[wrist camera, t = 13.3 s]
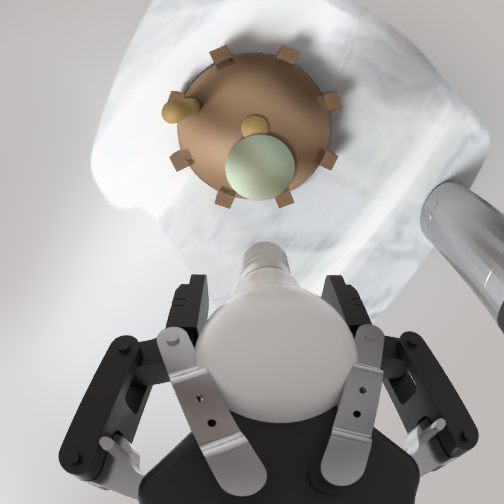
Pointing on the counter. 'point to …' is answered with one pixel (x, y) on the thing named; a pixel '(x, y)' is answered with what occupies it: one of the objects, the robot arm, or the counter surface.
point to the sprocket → (252, 126)
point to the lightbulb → (276, 344)
